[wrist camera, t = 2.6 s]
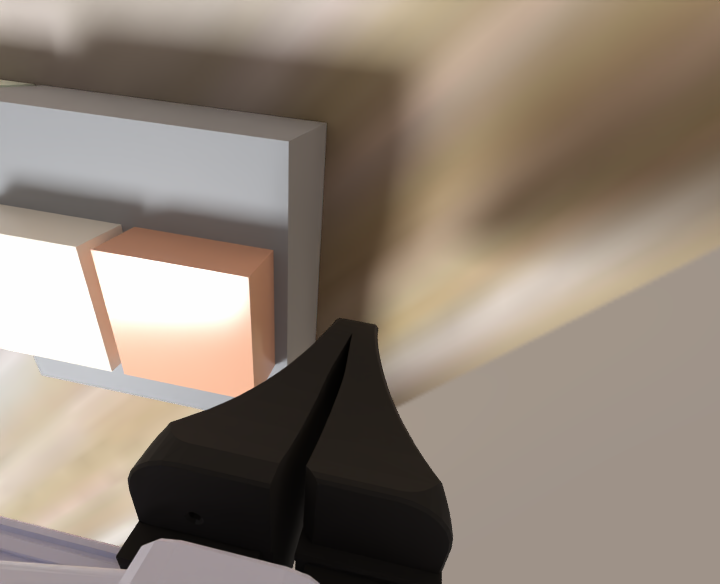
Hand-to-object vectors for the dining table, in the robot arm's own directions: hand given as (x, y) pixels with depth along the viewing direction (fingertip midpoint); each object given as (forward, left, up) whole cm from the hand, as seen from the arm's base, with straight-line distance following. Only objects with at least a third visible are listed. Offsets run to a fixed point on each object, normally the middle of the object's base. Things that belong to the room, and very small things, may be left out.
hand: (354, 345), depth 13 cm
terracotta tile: (0, +6, -1) cm, 6 cm away
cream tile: (0, +11, -1) cm, 11 cm away
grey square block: (0, +9, -6) cm, 10 cm away
